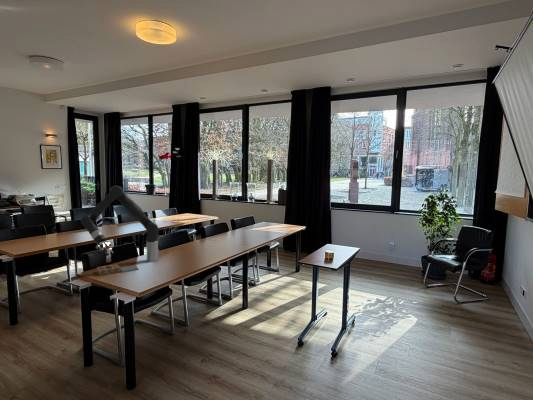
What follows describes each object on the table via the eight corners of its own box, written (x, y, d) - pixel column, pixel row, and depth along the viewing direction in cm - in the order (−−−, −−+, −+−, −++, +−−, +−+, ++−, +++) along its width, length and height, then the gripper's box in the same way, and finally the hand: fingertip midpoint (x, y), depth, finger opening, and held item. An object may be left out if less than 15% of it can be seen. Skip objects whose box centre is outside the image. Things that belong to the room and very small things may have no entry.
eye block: (117, 268, 249) (116, 264, 248) (120, 272, 239) (120, 267, 239) (97, 271, 240) (97, 267, 240) (99, 275, 231) (99, 271, 231)
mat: (134, 266, 256) (134, 265, 256) (138, 269, 246) (138, 268, 246) (118, 268, 249) (118, 267, 248) (122, 272, 239) (122, 271, 239)
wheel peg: (111, 260, 242) (110, 245, 241) (112, 261, 239) (111, 246, 238) (105, 261, 240) (104, 245, 239) (106, 262, 236) (105, 246, 235)
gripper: (92, 235, 234) (104, 253, 230) (108, 232, 247) (120, 249, 243) (87, 242, 237) (99, 259, 233) (104, 238, 249) (115, 255, 246)
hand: (110, 254), depth 238 cm, fingers closed on wheel peg, 3 cm apart
